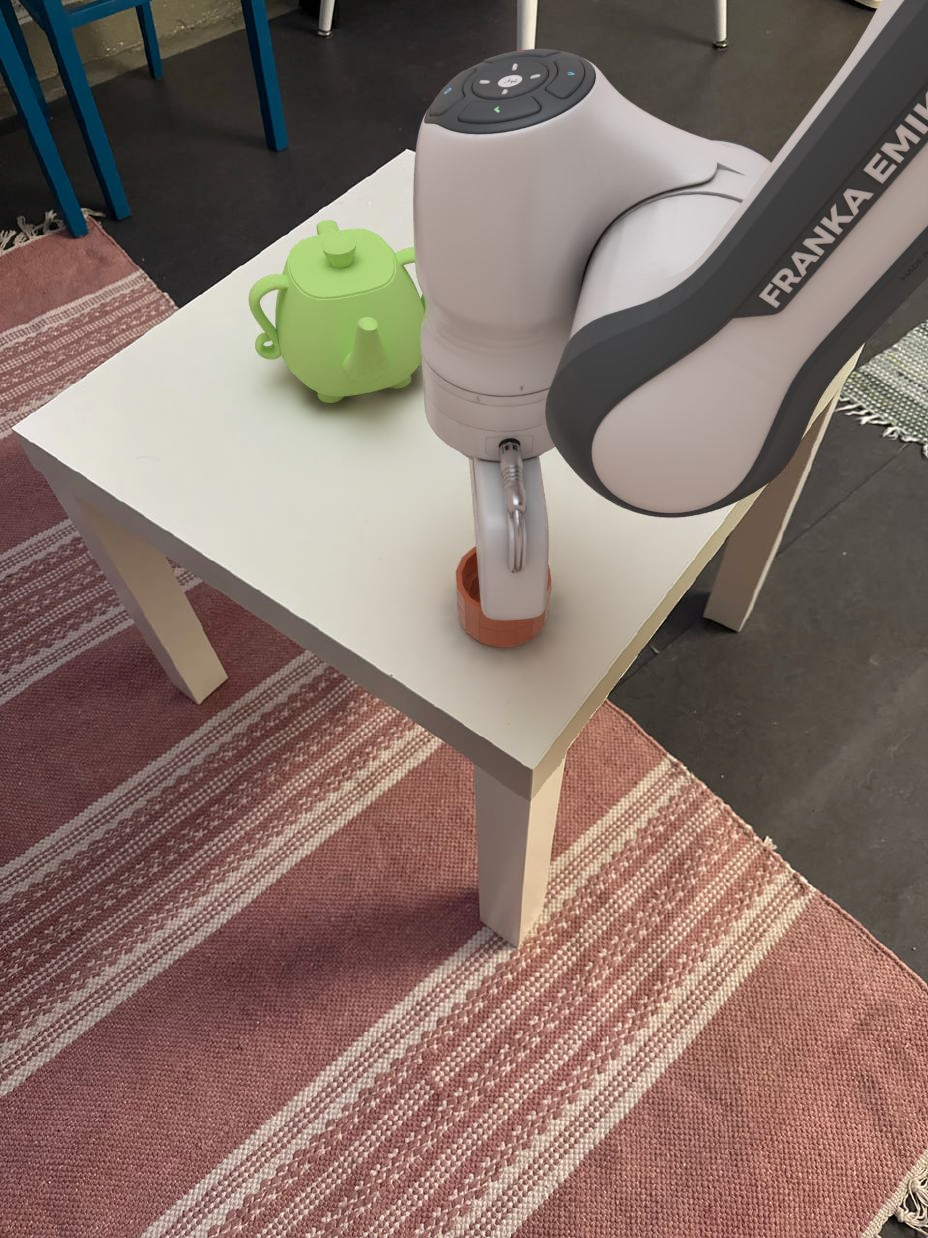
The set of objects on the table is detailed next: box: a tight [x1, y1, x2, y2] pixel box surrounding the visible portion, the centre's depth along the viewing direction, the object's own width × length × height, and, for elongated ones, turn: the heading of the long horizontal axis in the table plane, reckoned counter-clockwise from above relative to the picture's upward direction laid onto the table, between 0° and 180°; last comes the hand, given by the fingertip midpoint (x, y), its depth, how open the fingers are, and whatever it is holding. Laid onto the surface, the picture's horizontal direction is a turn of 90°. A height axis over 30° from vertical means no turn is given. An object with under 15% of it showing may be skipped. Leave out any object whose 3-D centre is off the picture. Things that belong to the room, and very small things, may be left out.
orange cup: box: [455, 545, 552, 648], centre depth 67 cm, size 7×7×5 cm
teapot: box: [248, 219, 426, 404], centre depth 80 cm, size 16×14×13 cm
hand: (499, 543), depth 62 cm, fingers open, 8 cm apart
